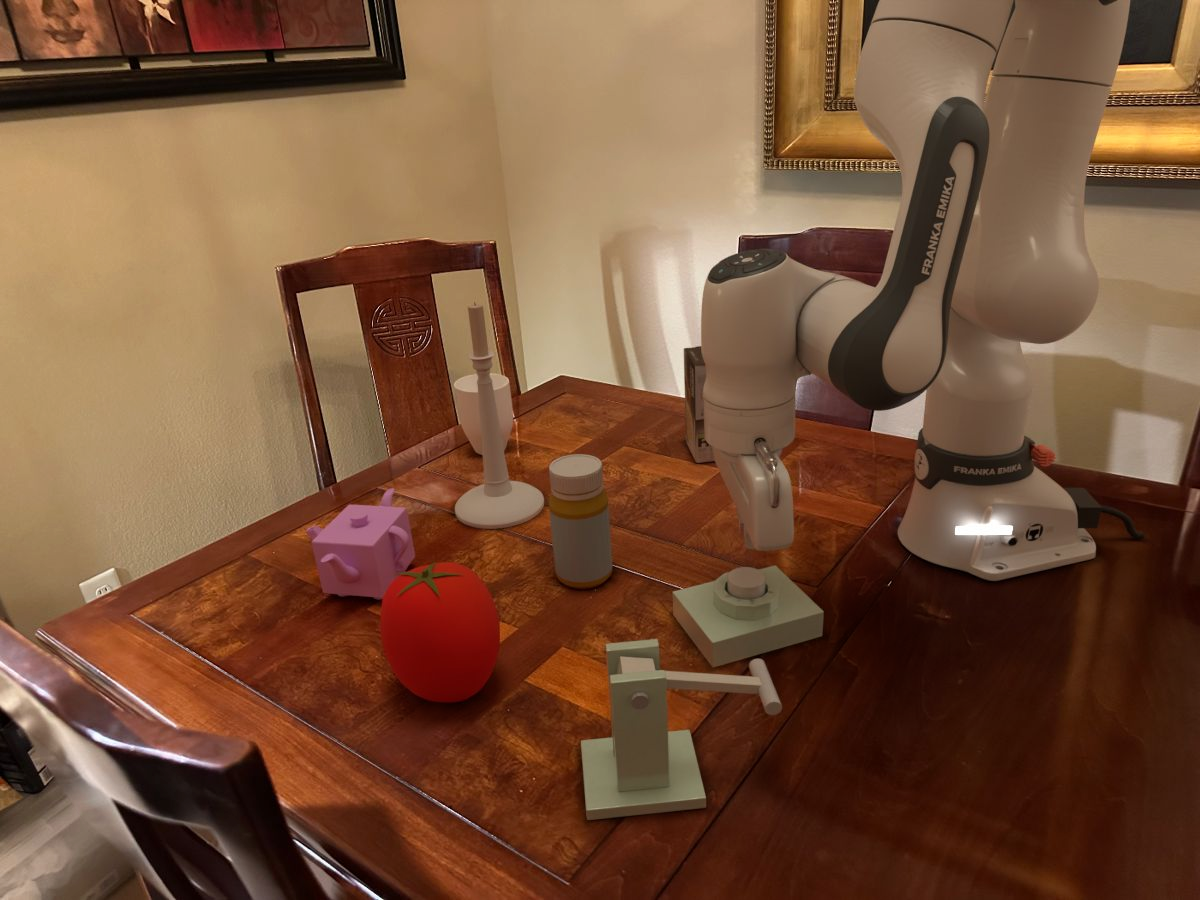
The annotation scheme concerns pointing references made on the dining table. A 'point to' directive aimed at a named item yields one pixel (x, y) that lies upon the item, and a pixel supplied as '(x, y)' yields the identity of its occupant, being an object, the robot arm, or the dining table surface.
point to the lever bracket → (639, 746)
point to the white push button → (746, 583)
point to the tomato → (440, 631)
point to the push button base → (746, 618)
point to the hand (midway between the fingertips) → (750, 541)
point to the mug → (470, 407)
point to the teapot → (363, 549)
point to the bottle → (580, 521)
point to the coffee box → (695, 405)
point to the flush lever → (714, 681)
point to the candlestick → (493, 453)
